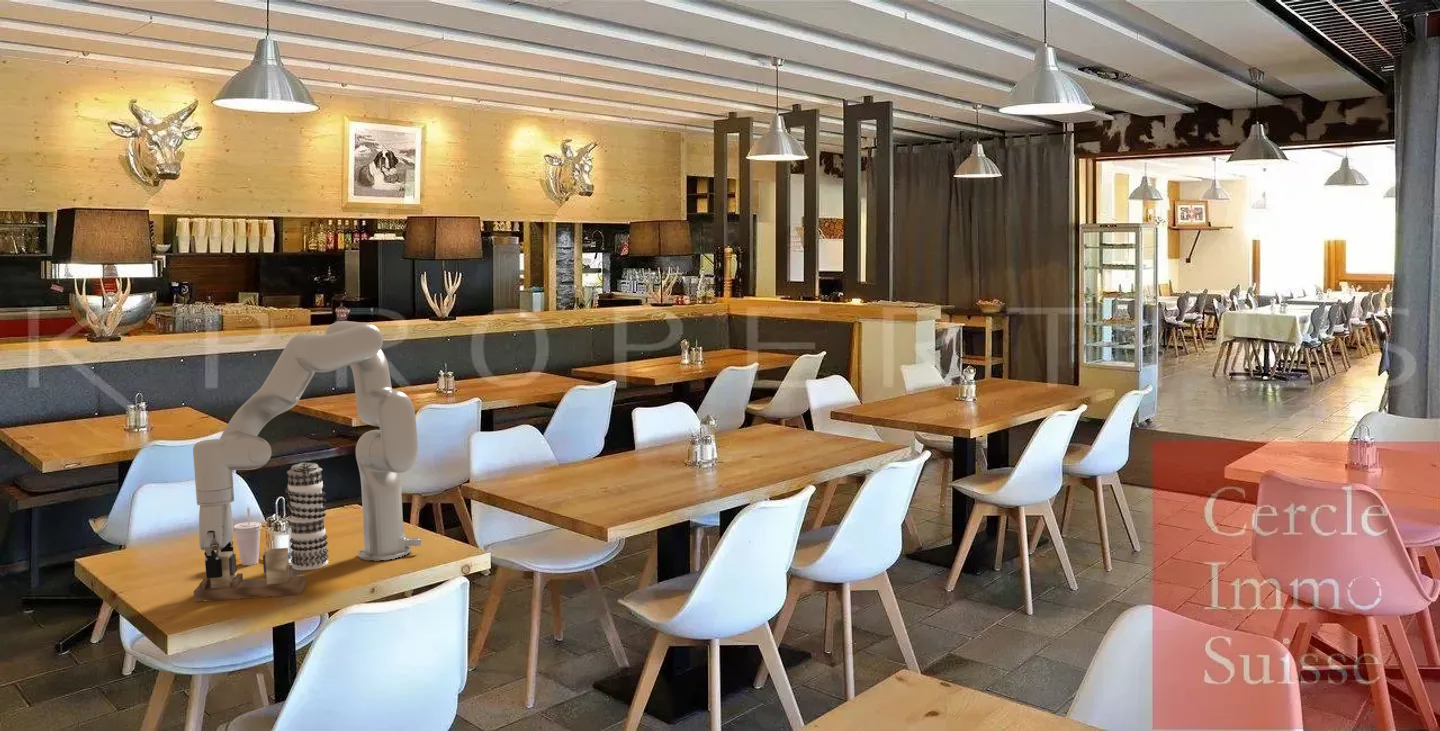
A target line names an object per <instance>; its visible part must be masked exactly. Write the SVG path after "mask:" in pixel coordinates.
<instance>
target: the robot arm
mask: <svg viewBox="0 0 1440 731" xmlns="http://www.w3.org/2000/svg"><path fill="white" fill-rule="evenodd" d="M383 344H384V337H383V334H382V332H381V330H380V329H379V328H378V327H377V326H375V325H374V324H372V323H368V322H359V321H349V320H341V321H339V320H338V321H335V322H334V323H332V324H330V325H329V326H328V327H327V328H326V330H325V334H322V335H317V334H316V335H315V334H297V335H295V336H294V337H292V338H290V340H289V341H288V342H287V344H286V345H285V347H284V349H283V350H282V352H281V354H280V355H279V357H278V359H277V361H276V362H275V364H274V365H273V368H272V369H271V371H270V372H269V374H268V376H267V378H266V379H265V381H264V382H263V384H262V386H261V387H260V388H259V389H258V390H257V391H256V392H255V393H253V394H252V395H251V397H249V398H248V400H246V401H245V402H244V403H243V404H242V405H241V406H240V407H239V408H238V409H237V410H236V412H235V413H234V414H233V415H232V417H231V419H230V420H229V422H228V423H227V425H226V427H225V429H224V430H223V432H222V433H221V435H220V438H212V439H205V440H201V441H198V442H196V443H195V444H194V445H193V448H192V455H193V457H192V458H193V468H194V469H193V470H194V480H195V481H194V482H195V494H196V495H195V496H196V497H195V498H196V505H197V506H199V511H198V512H199V513H198V535H199V537H198V540H199V549H200V550H201V551H204V565H205V577H207V578H220V577H222V575H223V574H222V560H221V559H220V552H229V551H233V554H235V553H234V546H233V544H234V541H233V537H234V531H233V530H234V522H233V521H234V520H233V519H234V518H233V511H232V503H233V502H234V501H235V491H234V489H235V488H234V478H233V477H234V476H233V475H234V474H233V471H241V470H247V471H249V470H256V469H260V468H261V467H264V466H265V465H267V463H268V462H269V461H270V460H271V457H272V447H271V445H270V443H269V442H268V441H267V440H265V439H264V438H262V437H260V436H258V435H259V434H260V432H261V431H262V429H263V428H264V427H265V426H266V425H267V423H269V422H270V421H271V420H272V419H274V418H275V417H277V416H278V415H280V414H281V415H282V414H283V413H285V412H287V411H290V410H291V409H292V408H294V407H295V406H296V405H297V404H298V403H299V401H300V399H301V397H302V395H303V394H304V393H305V390H306V388H307V387H308V385H309V384H310V382H311V380H312V379H313V377H314V375H315V374H316V373H328V372H332V371H336V370H339V369H342V368H346V367H348V366H350V368H351V371H352V375H353V380H354V390H355V391H354V393H355V402H356V403H355V404H356V411H357V412H356V413H357V415H358V418H359V419H360V421H361V422H362V423H365V424H367V425H370V426H373V427H378V428H379V429H372V430H369V431H366V432H364V433H363V434H362V435H361V436H360V437H359V439H358V440H357V442H356V445H355V459H356V462H357V467H358V471H359V477H360V486H361V488H360V489H361V502H362V504H361V505H362V506H361V507H362V523H363V524H362V525H363V542H364V547H363V548H361V549H360V550H359V551H358V558H359V559H362V560H363V559H364V560H365V561H369V560H374V561H373V562H377V561H378V562H381V561H380V560H384V561H390V559H392V560H396V559H395V558H397V559H399V558H398V557H400V558H403V557H405V556H404V555H406V556H407V554H408V553H409V552H410V551H412V548H411V547H422V546H423V539H422V538H421V537H420V538H419V537H418V536H415V537H414V536H413V537H409V536H407V532H404V519H403V518H404V517H403V500H402V499H403V498H402V493H403V492H402V491H403V490H402V482H401V481H402V480H401V476H400V474H401V473H405V472H407V471H409V470H411V469H412V468H413V467H414V465H415V464H416V462H417V459H418V456H419V441H418V430H417V420H416V410H415V407H414V404H413V402H412V400H411V398H410V397H409V396H408V395H407V393H404V392H402V391H401V390H397V389H393V387H392V381H391V375H390V367H389V363H388V360H387V358H386V355H385V354H384V351H383V350H382V347H383ZM215 552H216V553H215ZM410 553H411V552H410ZM410 553H409V554H410ZM409 554H408V555H409ZM402 556H403V557H402Z"/></svg>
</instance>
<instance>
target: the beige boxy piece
mask: <svg viewBox="0 0 1440 731" xmlns="http://www.w3.org/2000/svg"><path fill="white" fill-rule="evenodd" d="M233 552H234V550H233V551H229V552H220V559H221V560H222V574H223V575H222V577H220V578H210V582H211V588H223V587H231V581H232V580H233V579H234V578H235V576H236V575H235V574H236V572H237V571H238V570H237V556H236V555H237V554H236V553H234V554H233ZM215 553H216V551H215Z"/></svg>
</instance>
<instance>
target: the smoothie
mask: <svg viewBox="0 0 1440 731" xmlns="http://www.w3.org/2000/svg"><path fill="white" fill-rule="evenodd" d="M246 512H247V514H246V515H247V521H246V522H241V523H236V524H235V525H233V532H234V533H235V537H236V542H237V548H238V552H239V557H240V562H241V565H242V566H245V565H248V566H254V565H256V563H257V564H259V554H260V540H261V529H262V527H263V526H262V523H261V522H259V521H251V512H250V507H247V508H246ZM253 564H254V565H253Z"/></svg>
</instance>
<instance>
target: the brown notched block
mask: <svg viewBox="0 0 1440 731" xmlns="http://www.w3.org/2000/svg"><path fill="white" fill-rule="evenodd" d="M289 560H290V559H289V548H288V547H282V548H281V547H278V548H269V549H268V550H267V551H265V553H264V554H263V555H262V561H263V566H262V567H263V574H266V577H264V578H262V577H261V578H249V579H244V576H243V573H242V572H239V573H237V574H236V575H235V578H234V579H233V580H232V581H231V587H223V588H211V582H210V578H207V577H206V576H205V577H204V578H203V580H202V581H200V583H199V585H197V587H196V588H195V589H194V590H193V597H194V598H193V601H202V602H205V601H204V600H216V601H226V600H229V599H230V600H240V598H244V599H253V598H254V597H258V598H268V597H267V596H272V597H282V596H285V597H286V596H294V595H295V596H297V595H301V594H302V592H303V590H304V589H305V587H306V579H305V575H292V576H291V575H290V574H291V573H290V561H289Z"/></svg>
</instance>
